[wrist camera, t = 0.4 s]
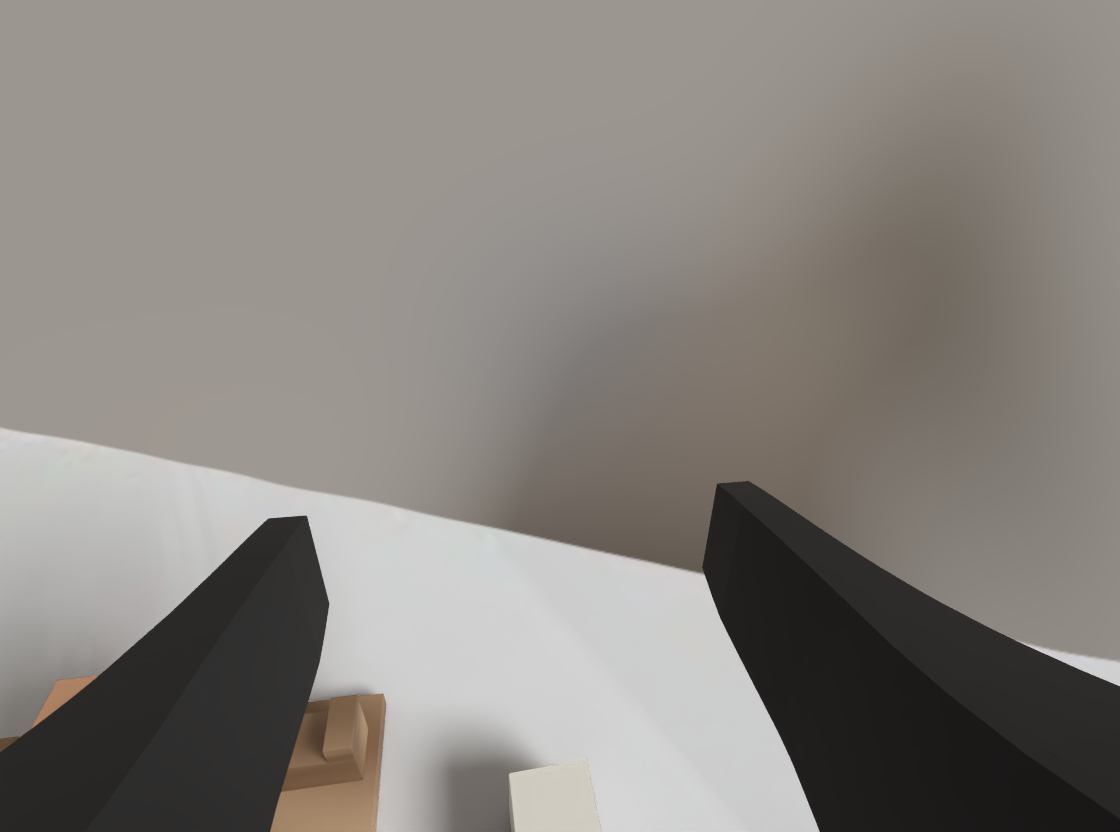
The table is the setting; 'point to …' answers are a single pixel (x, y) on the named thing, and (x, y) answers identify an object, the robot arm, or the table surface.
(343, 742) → the slotted wooden stand
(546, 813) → the pale grey bar
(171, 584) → the table surface
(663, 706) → the table surface
